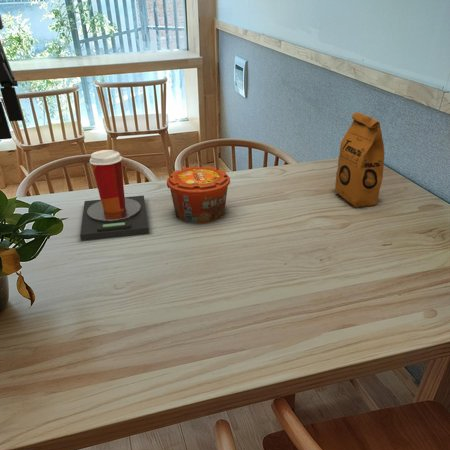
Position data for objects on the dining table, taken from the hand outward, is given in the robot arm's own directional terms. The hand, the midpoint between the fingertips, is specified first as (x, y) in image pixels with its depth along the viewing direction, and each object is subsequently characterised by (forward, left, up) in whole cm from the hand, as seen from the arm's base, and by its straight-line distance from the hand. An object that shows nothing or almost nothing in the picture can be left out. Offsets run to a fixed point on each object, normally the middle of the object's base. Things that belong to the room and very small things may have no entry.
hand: (10, 129), depth 91 cm
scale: (+17, +8, -27) cm, 33 cm away
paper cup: (+17, +10, -24) cm, 31 cm away
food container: (+39, +7, -27) cm, 48 cm away
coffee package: (+83, +7, -27) cm, 88 cm away
